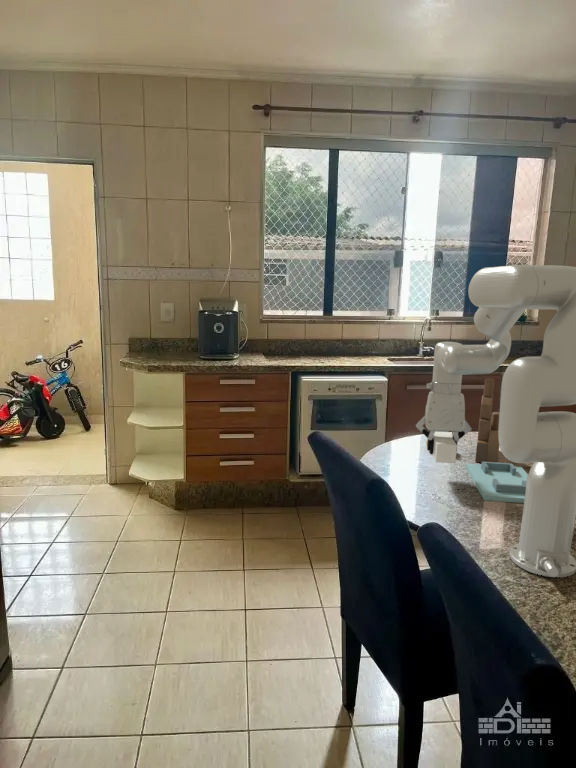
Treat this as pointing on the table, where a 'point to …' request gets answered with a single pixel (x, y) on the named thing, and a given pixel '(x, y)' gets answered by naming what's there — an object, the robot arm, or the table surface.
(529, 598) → the table surface
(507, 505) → the table surface
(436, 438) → the white pillar block
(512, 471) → the cradle
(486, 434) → the wooden toy
